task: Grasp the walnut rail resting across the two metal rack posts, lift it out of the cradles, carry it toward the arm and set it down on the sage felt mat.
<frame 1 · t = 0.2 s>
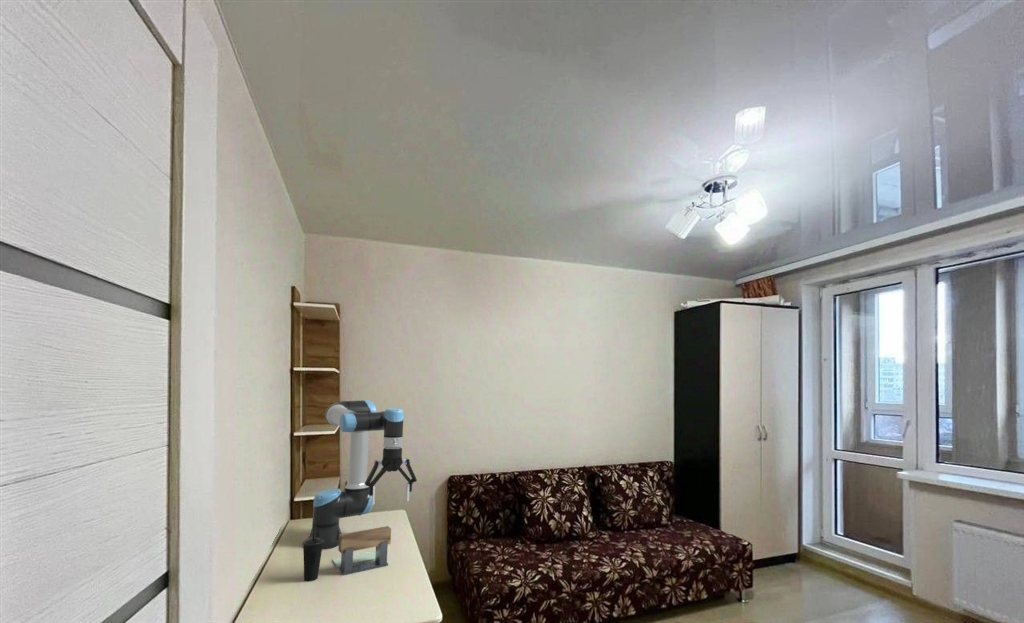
hand: (390, 502, 190), 27 cm above the table, fingers open, 13 cm apart
rack: (363, 567, 193), on the table
drinking cup: (310, 579, 182), on the table
rail: (364, 546, 194), point 8 cm above the table, touching rack
mat: (356, 559, 201), on the table
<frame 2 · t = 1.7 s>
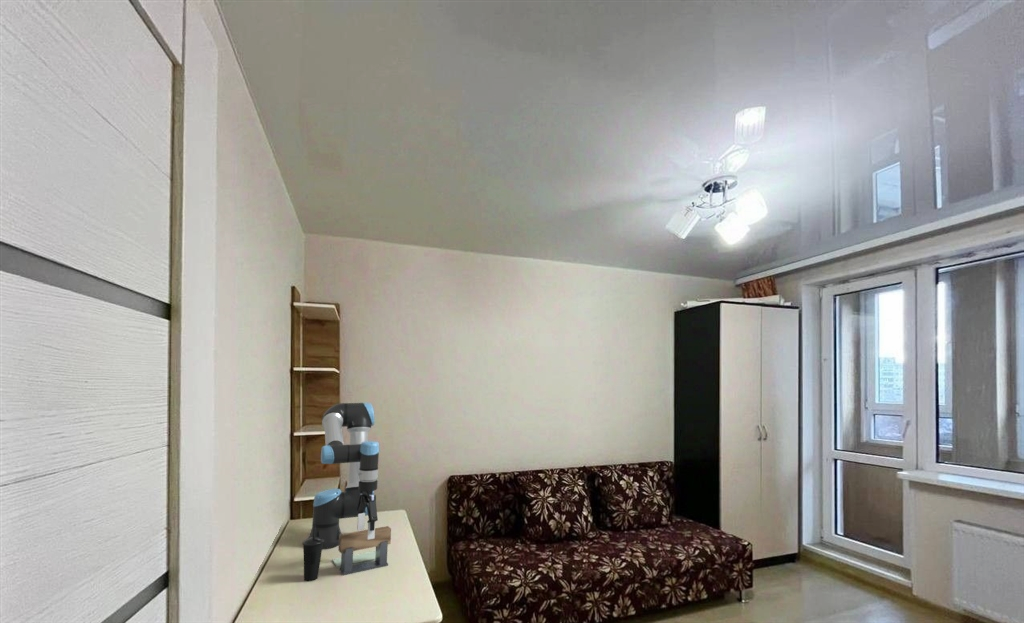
hand: (365, 534, 194), 13 cm above the table, fingers open, 13 cm apart
nothing on the table moved.
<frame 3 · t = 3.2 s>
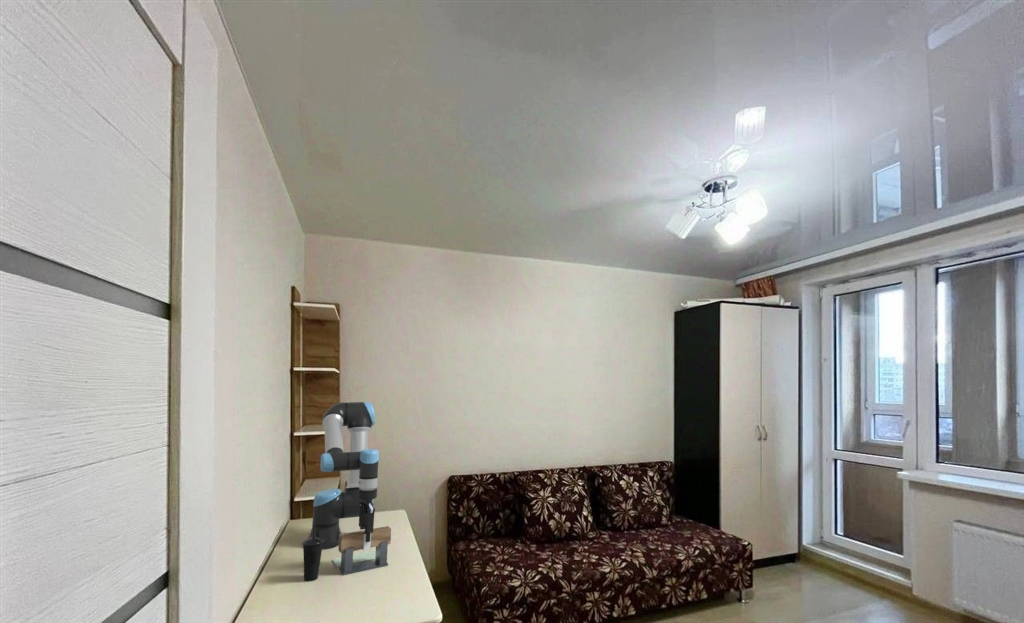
hand: (364, 547, 194), 8 cm above the table, fingers closed on rail, 4 cm apart
rail: (364, 546, 194), point 8 cm above the table, touching gripper, rack
everything else where it was.
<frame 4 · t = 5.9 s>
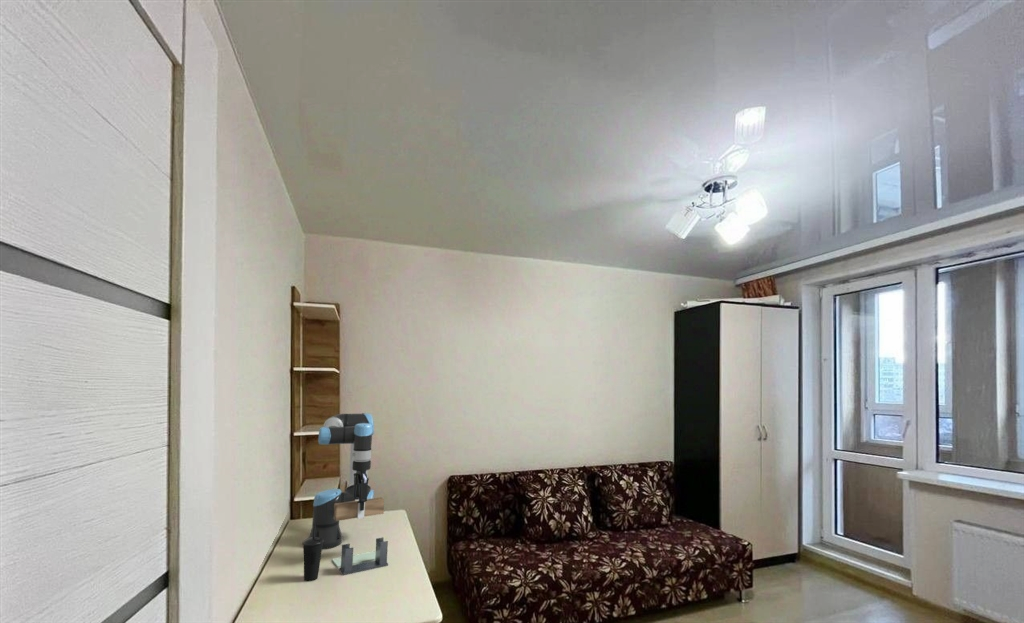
hand: (359, 516, 203), 17 cm above the table, fingers closed on rail, 4 cm apart
rail: (359, 516, 203), point 18 cm above the table, touching gripper
everything else where it was.
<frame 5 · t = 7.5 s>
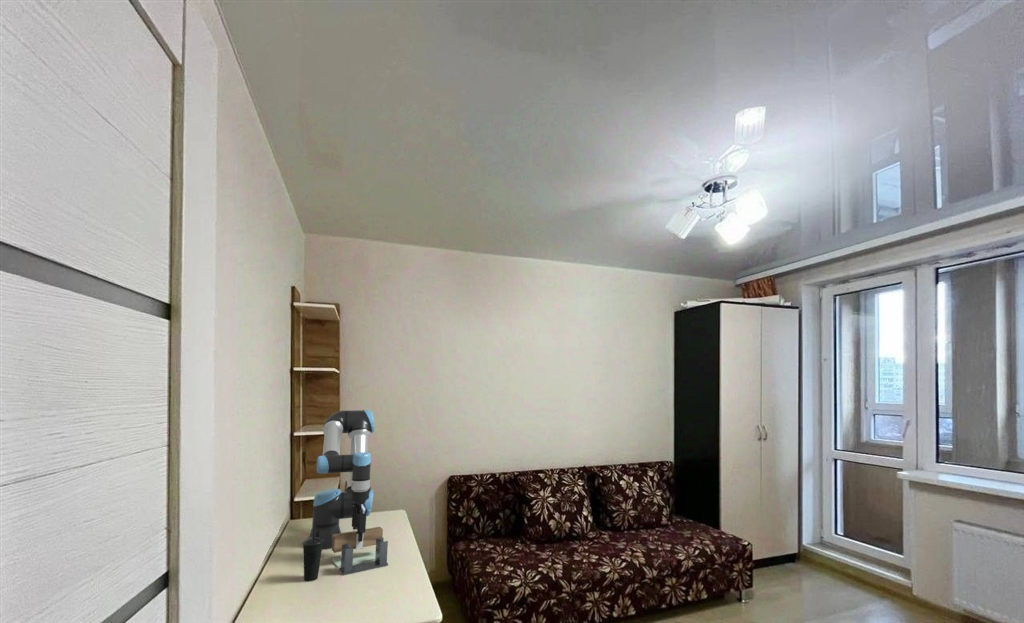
hand: (357, 547, 201), 5 cm above the table, fingers closed on rail, 4 cm apart
rail: (357, 546, 201), point 5 cm above the table, touching gripper
everything else where it was.
when the fingers open (2 cm above the table, at t = 8.8 s): rail drops 1 cm, resting on mat.
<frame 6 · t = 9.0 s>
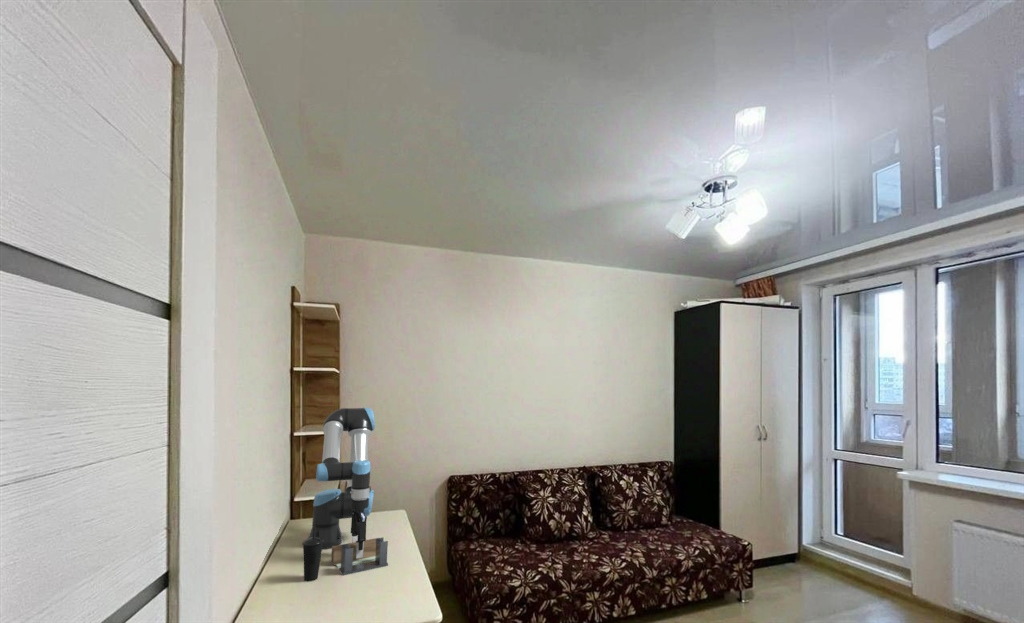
hand: (357, 554, 201), 2 cm above the table, fingers open, 6 cm apart
rail: (356, 558, 201), point 1 cm above the table, touching mat
everything else where it was.
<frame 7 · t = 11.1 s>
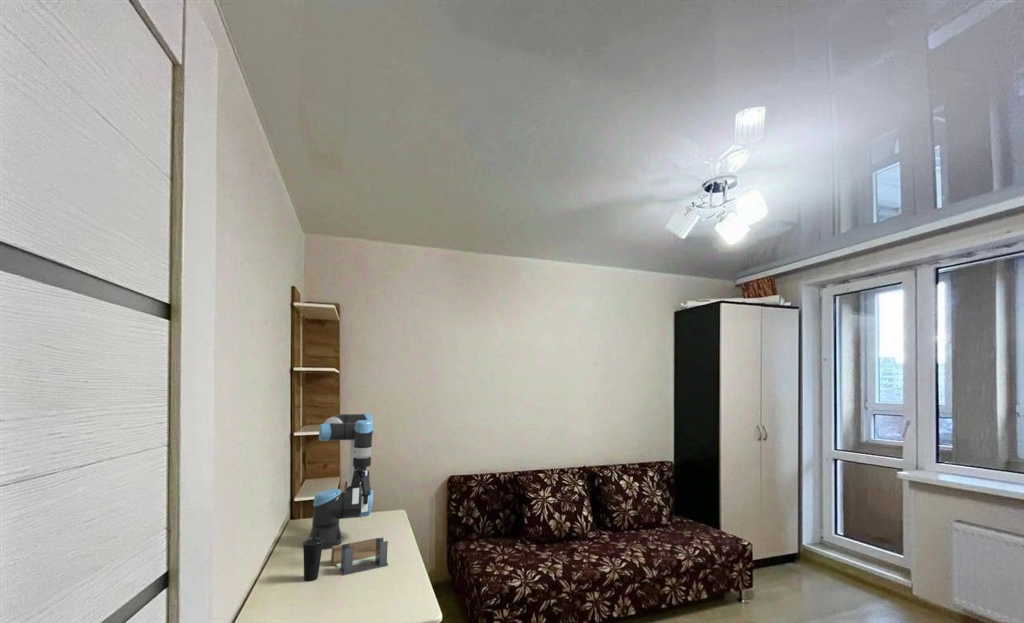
hand: (359, 507, 205), 21 cm above the table, fingers open, 13 cm apart
nothing on the table moved.
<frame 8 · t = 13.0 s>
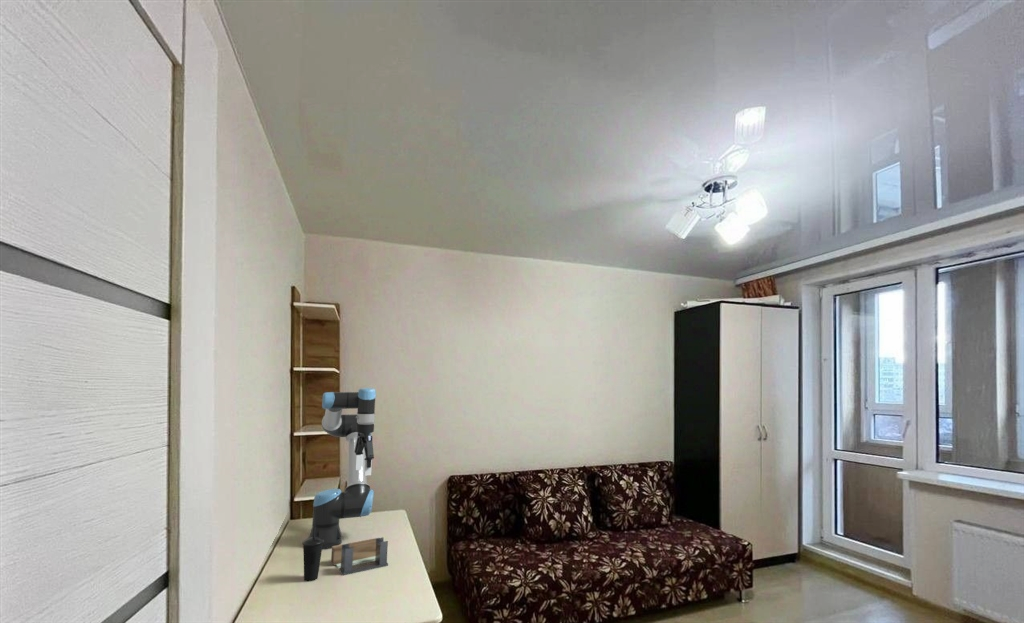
hand: (363, 472, 210), 35 cm above the table, fingers open, 13 cm apart
nothing on the table moved.
at the end: rail inside the target area on the mat (0.1 cm from its centre), point 0.6 cm above the mat's base; the gripper is holding nothing; rail touching mat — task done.
